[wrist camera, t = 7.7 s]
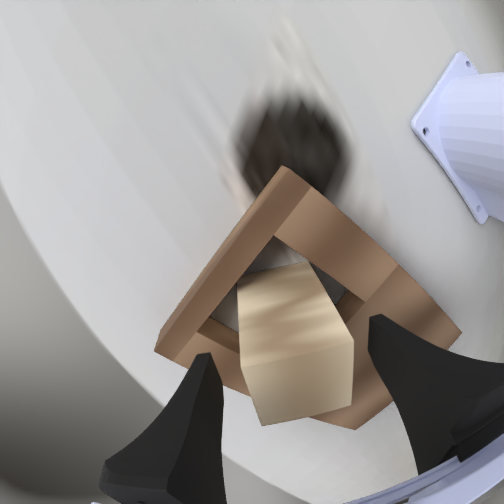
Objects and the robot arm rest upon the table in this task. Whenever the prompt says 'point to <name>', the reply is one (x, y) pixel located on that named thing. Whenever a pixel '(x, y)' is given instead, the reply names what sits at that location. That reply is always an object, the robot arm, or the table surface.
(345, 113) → the table surface
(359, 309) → the slotted walnut block
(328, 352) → the maple peg
